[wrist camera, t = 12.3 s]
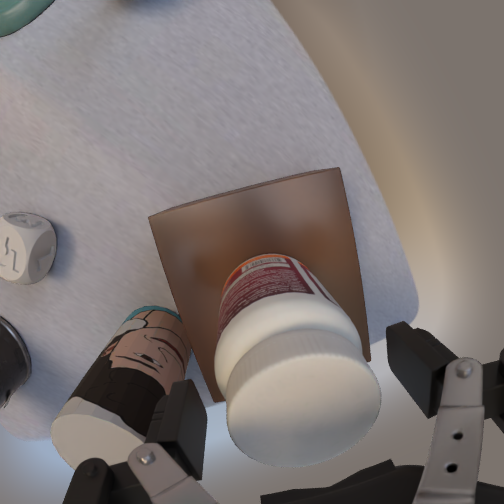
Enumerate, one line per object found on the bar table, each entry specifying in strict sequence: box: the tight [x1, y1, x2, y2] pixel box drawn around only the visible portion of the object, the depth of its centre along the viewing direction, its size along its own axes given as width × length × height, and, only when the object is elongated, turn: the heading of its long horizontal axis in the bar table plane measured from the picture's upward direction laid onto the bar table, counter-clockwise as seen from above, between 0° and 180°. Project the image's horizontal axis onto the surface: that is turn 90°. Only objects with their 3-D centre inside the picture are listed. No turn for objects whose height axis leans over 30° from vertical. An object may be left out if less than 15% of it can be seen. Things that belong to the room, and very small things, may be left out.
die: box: [0, 212, 57, 285], centre depth 23 cm, size 5×5×5 cm
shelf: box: [148, 167, 371, 403], centre depth 23 cm, size 12×14×7 cm
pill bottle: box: [214, 254, 381, 467], centre depth 14 cm, size 6×6×11 cm
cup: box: [50, 306, 192, 470], centre depth 20 cm, size 7×7×15 cm
